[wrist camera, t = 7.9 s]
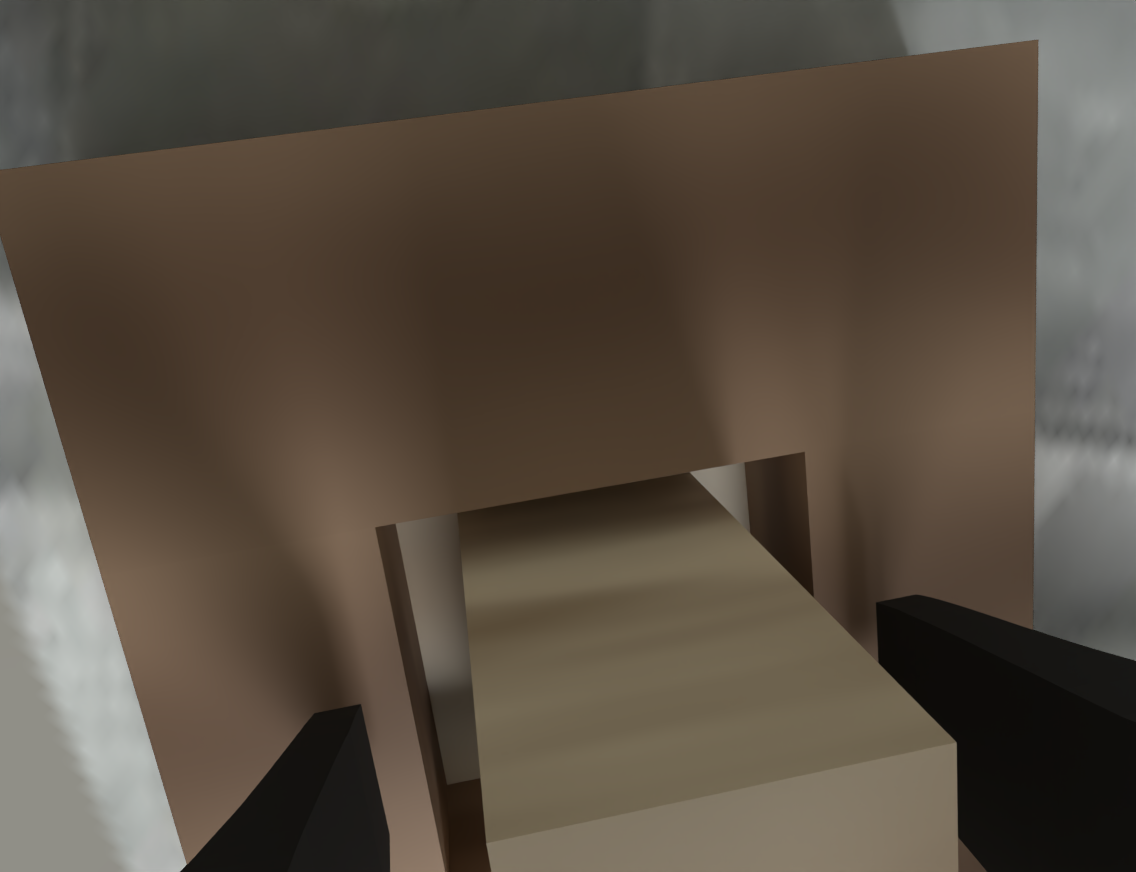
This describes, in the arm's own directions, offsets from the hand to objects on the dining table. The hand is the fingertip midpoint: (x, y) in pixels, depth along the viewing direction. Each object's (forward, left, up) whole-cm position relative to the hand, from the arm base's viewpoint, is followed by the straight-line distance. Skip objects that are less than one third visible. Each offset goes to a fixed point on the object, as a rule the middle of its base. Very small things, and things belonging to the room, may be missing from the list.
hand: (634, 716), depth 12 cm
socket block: (0, 0, -4) cm, 4 cm away
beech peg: (0, 0, -4) cm, 4 cm away
